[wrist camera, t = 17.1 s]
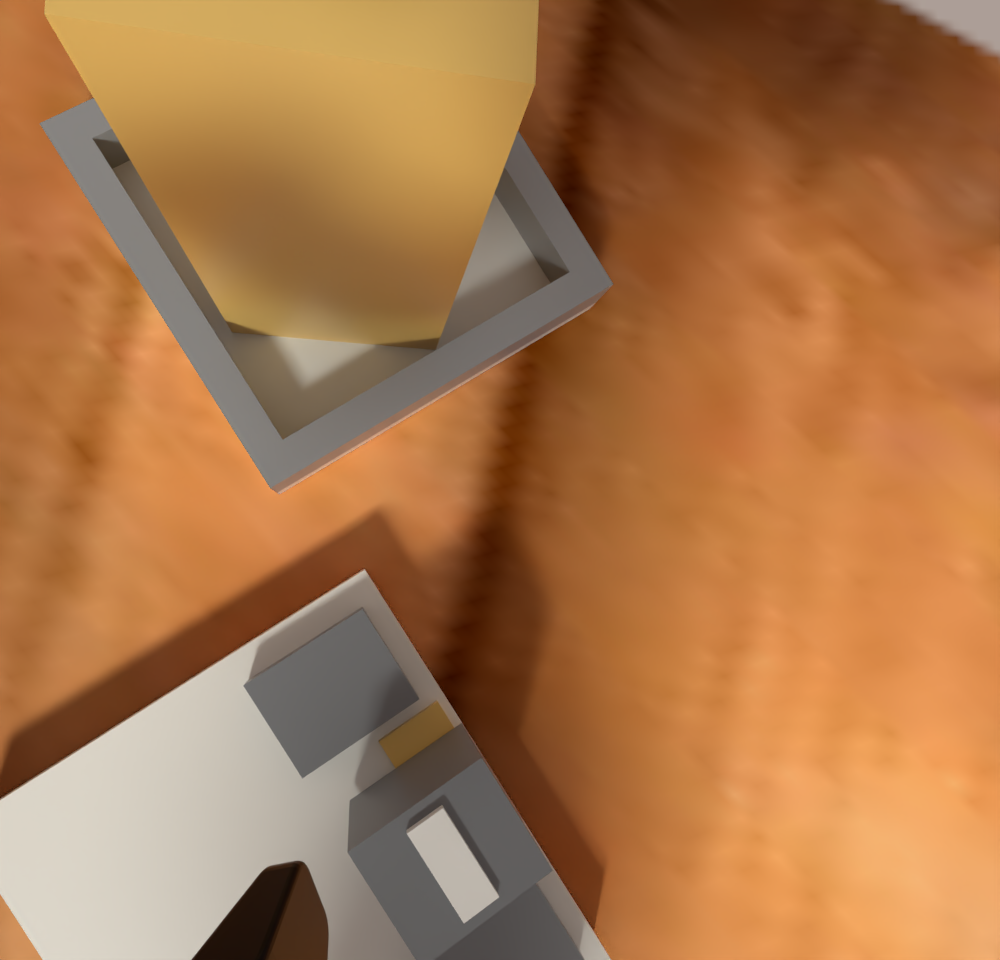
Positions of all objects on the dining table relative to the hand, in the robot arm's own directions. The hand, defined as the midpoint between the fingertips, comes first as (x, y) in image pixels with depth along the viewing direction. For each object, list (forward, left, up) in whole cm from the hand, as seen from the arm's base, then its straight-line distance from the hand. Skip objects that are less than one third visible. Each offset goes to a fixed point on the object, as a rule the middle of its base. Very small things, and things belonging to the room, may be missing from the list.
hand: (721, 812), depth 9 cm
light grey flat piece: (-7, -2, -13) cm, 14 cm away
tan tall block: (+2, +11, -12) cm, 17 cm away
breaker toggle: (-3, -2, -11) cm, 11 cm away
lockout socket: (+2, +11, -13) cm, 17 cm away
